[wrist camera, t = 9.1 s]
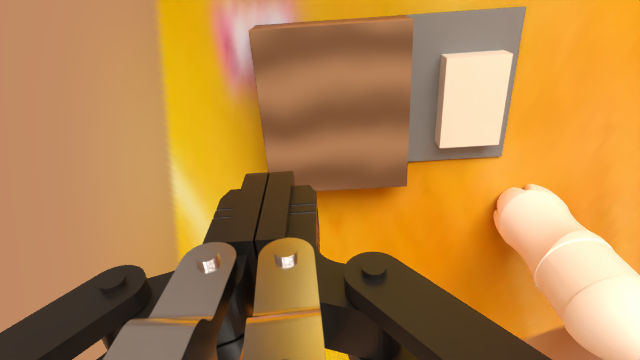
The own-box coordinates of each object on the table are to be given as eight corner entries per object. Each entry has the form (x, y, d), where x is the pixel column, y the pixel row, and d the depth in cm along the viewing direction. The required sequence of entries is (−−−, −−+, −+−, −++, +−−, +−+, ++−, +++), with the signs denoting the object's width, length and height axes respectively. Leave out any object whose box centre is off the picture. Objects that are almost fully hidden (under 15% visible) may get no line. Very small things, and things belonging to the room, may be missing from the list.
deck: (255, 25, 37) (248, 30, 33) (404, 15, 36) (413, 19, 33) (275, 176, 44) (271, 193, 41) (399, 169, 44) (406, 186, 40)
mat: (404, 15, 36) (405, 15, 36) (524, 6, 36) (525, 6, 36) (399, 160, 43) (400, 162, 43) (500, 155, 43) (501, 156, 43)
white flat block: (513, 53, 36) (504, 49, 37) (447, 58, 36) (441, 54, 38) (498, 144, 40) (491, 137, 42) (439, 148, 40) (434, 140, 42)
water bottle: (557, 211, 46) (774, 427, 24) (499, 238, 48) (652, 462, 26) (537, 166, 44) (762, 362, 21) (477, 196, 45) (626, 406, 23)
